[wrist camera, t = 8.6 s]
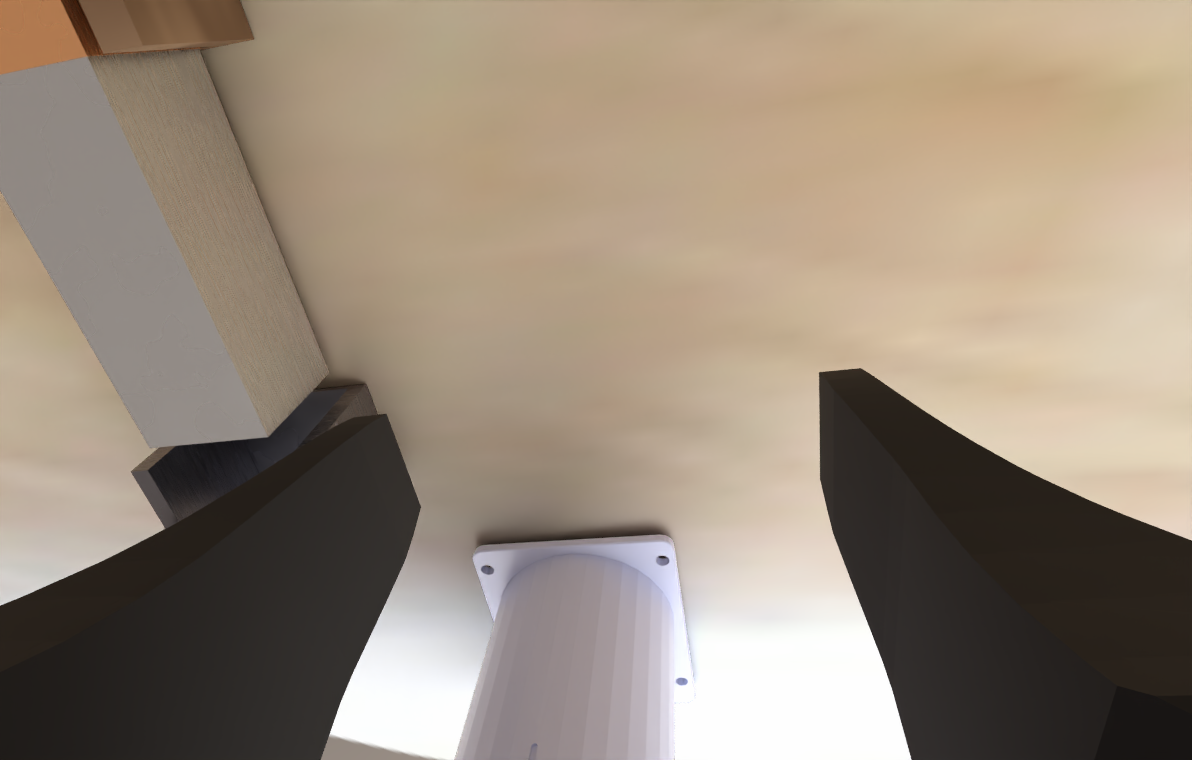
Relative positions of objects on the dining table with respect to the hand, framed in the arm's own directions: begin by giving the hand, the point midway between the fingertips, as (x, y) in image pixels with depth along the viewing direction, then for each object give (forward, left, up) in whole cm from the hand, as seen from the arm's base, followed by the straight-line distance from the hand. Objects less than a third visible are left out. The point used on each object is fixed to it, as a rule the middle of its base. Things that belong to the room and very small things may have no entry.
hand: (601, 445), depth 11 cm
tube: (+3, +13, -10) cm, 17 cm away
